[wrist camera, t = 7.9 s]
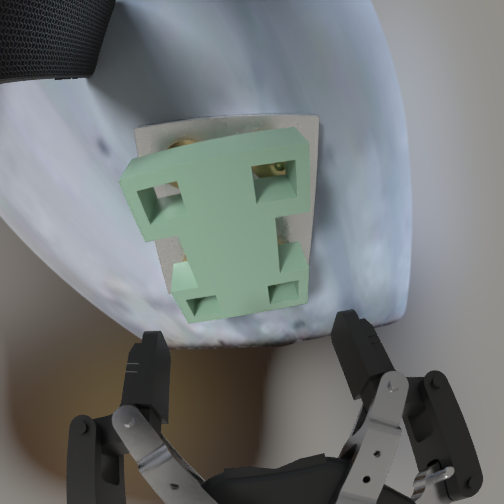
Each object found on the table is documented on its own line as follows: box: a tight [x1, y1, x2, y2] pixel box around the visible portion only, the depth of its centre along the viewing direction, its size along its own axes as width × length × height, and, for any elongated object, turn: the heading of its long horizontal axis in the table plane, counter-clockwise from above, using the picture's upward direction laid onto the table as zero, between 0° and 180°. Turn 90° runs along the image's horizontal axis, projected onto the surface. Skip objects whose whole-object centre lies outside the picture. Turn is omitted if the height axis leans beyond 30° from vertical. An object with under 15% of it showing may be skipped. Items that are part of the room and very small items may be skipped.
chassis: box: [134, 114, 319, 294], centre depth 22 cm, size 14×16×5 cm
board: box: [119, 127, 310, 323], centre depth 19 cm, size 10×14×3 cm
